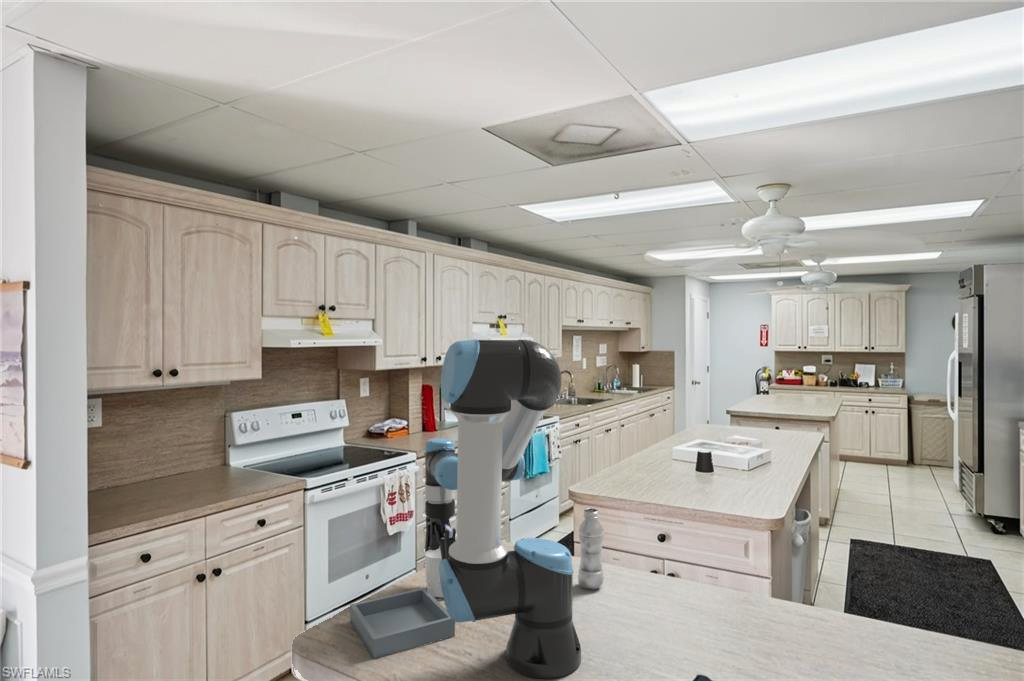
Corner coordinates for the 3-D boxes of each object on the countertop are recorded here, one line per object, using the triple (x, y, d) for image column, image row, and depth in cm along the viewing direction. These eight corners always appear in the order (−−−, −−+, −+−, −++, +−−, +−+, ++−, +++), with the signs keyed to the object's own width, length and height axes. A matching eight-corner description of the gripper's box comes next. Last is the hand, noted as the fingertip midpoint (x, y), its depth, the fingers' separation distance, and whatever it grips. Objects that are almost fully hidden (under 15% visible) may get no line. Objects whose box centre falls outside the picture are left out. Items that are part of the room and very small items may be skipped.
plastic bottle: (573, 584, 155) (573, 508, 154) (595, 580, 157) (595, 505, 157) (586, 594, 149) (586, 515, 149) (608, 589, 152) (608, 512, 151)
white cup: (458, 586, 154) (458, 547, 154) (452, 599, 146) (452, 559, 146) (429, 584, 155) (428, 546, 155) (421, 598, 147) (421, 558, 147)
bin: (454, 636, 128) (454, 617, 128) (373, 659, 119) (373, 639, 119) (424, 603, 144) (424, 587, 144) (350, 621, 135) (350, 604, 135)
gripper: (471, 507, 143) (471, 601, 143) (438, 489, 161) (438, 572, 161) (442, 512, 139) (442, 608, 139) (412, 492, 157) (412, 578, 157)
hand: (440, 589), depth 150 cm, fingers closed on white cup, 7 cm apart
